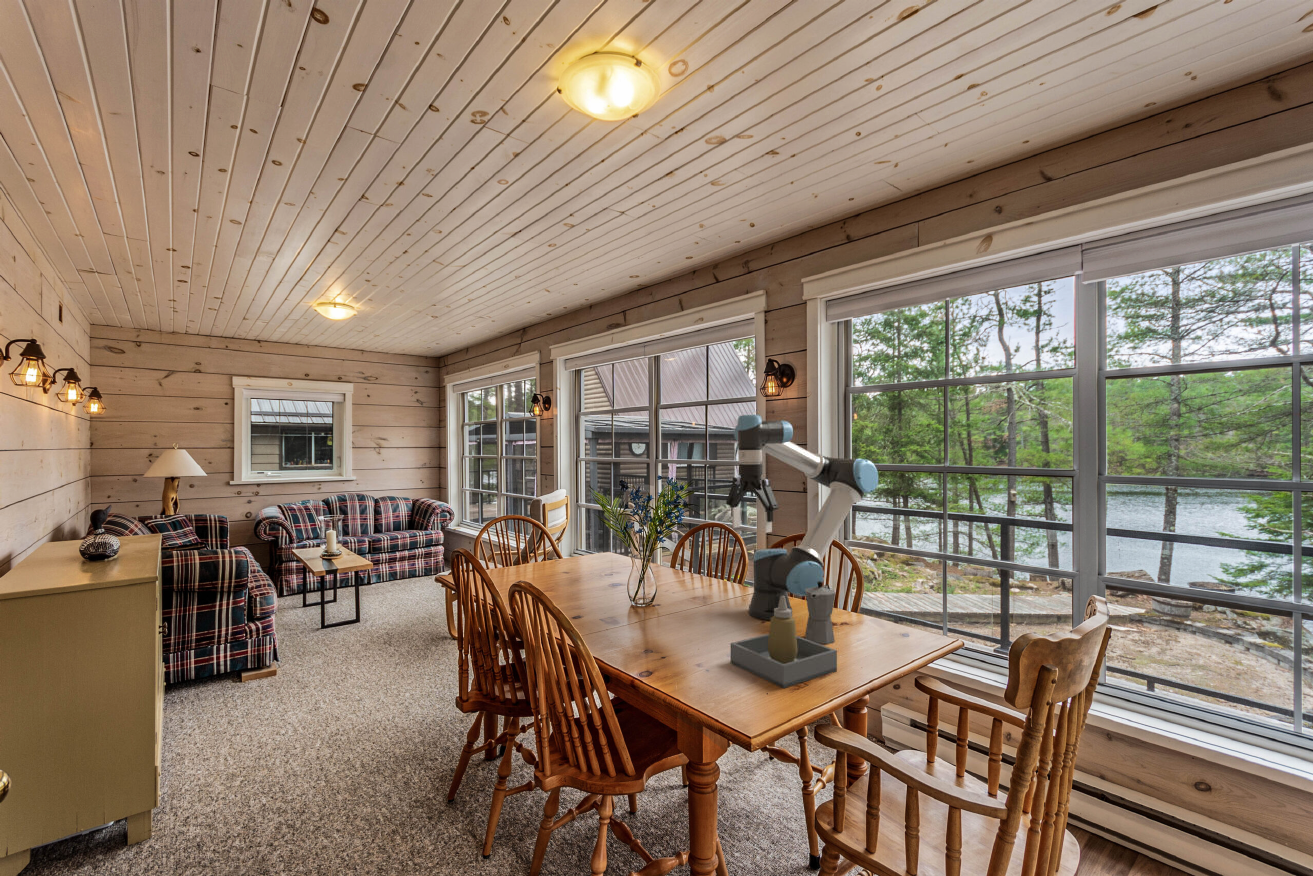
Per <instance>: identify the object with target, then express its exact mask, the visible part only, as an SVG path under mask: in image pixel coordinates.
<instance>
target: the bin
mask: <svg viewBox="0 0 1313 876" xmlns="http://www.w3.org/2000/svg"><path fill="white" fill-rule="evenodd" d="M796 638H797V648H798V652H797V655H796V658H795V661H793V662H789V663H786V664H782V663H780V662H777V661H775V660H773V659H771V658H770V654H769V651H768V640H769V633H766V634H762V635H758V636H755V637H750V638H747V639H742V640H738V641H734V642H730V664H731V663H732V665H733V664H734V665H733V666H735V667H738V668H739V669H742V670H744V671H746V670H747V671H746V672H748V671H749V673H750V672H751V674H752V673H753V675H754V674H755V676H757V677H759V678H761V679H763V680H765V681H767V682H769V683H771V682H772V684H773V683H774V685H775V684H776V686H777V687H780V688H782V689H787V688H789V686H790V687H793V686H795V685H799V684H802V683H804V682H808V681H811V680H813V679H817V678H820V677H823V676H826V674H827V675H829V673H830V674H832V672H833V673H836V672H837V671H838V650H837V649H834V648H831V647H829V646H826V645H824V644H818V643H815V642H812V641H810V640H807V639H806V638H803V637H801V636H798V635H796ZM822 675H823V676H822ZM819 676H820V677H819ZM786 687H787V688H786Z"/></svg>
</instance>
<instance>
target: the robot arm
mask: <svg viewBox="0 0 1313 876" xmlns="http://www.w3.org/2000/svg"><path fill="white" fill-rule="evenodd" d="M793 428H794V427H793V425H792V424H791V423H790V422H789V421H787V420H762V416H761V415H760V414H744V415H743V414H742V415H740V416H738V418H737V425H736V426H735V427H734V431H733V436H734V439H735V440H736V441H737V446H738V447H737V449H738V463H740V464H738V476H740V477H738V476H737V477H732V482H731V483H732V485H731V488H730V489H729V493H728V496H727V499H726V503H725V504H726V505H727V506H730V512H731V513H730V514H731V515H730V516H731V517H732V528H733V529H735V528H736V529H737V528H741V511H740V510H741V507H740V505H739V504H740V503H741V501H743V498H744V497H745V495H746V494H747V493H751V494H752V493H753V494H754V495H756V497H757V498H758V500H759V501H760V503H761V505H762V506H763V508H764V511H763V525H764V526H763V529H764V530H763V531H764V533H765V534H767V533H772V532H773V522H774V511H776V510H778V509H779V505H778V502H777V500H776V497H775V495H774V492H773V489H772V487H771V482H770V481H771V480H770V479H769V478H763V479H762V475H763V464H762V462H763V452H764V453H766V454H768V455H769V456H771V457H774V458H776V459H777V460H779V461H782V462H783V463H786V464H787V465H789V466H791V467H793V468H796V469H797V470H799V471H801V472H802V473H803V474H804V475H805V477H807V478H809V479H810V480H813V481H814V482H817V483H819V484H820V485H822V486H824V487H826V488H828V489H830V493H829V494H828V496H827V498H826V500H825V501H824V502H823V505H822V506H821V508H820V509H819V511H818V513H817V514H816V516H815V518H814V520H813V521H812V523H811V524H810V527H809V528H808V529H807V532H806V534H805V535H804V537H803V539H802V540H801V542H800V544H799V545H797V546H793V547H792V548H791V550H790V552H789V553H788V550H787V549H786V548H764V549H757V550H756V551H754V554H753V561H752V563H753V594H752V596H751V601H750V604H749V605H748V615H749V614H750V615H749V616H751V617H752V616H753V617H752V618H756V619H759V620H764V621H770V620H771V618H772V617H773V616H774V609H775V608H778V606H779V601H780V597H781V596H785V599H786V604H787V608H788V609H790V610H791V617H792V618H793V608H792V606H791V603H790V599H789V596H788V593H791V594H792V595H796V596H801V597H806V592H805V589H807V588H812V587H818V583H817V582H818V581H821V582H823V583H824V580H825V578H824V576H825V573H824V572H825V571H824V569H823V568H824V566H825V565H824V561H823V559H824V558H825V555H826V553H827V551H828V550H829V548H830V546H831V545H832V542H833V541H834V539H835V537H836V536H837V534H838V532H839V530H840V529H841V527H842V525H843V523H844V521H845V519H846V517H847V516H848V514H849V512H850V511H851V509H852V507H853V506H854V504H855V503H859V502H861V501H862V499H863V497H864V495H865V494H870V493H873V492H875V491H876V488H877V487H878V484H879V475H878V473H879V472H878V469H877V467H876V466H875V464H874V463H873V462H872V461H870V460H869V459H865V458H864V459H863V458H841V457H840V458H839V457H831V456H830V457H829V456H825V455H823V454H821V453H813V452H811V451H809V450H807V449H805V448H803V447H802V446H799V445H798V444H796V443H794V442H793V441H791V440H792V439H793V436H794V433H793V432H794V429H793Z"/></svg>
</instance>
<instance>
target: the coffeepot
mask: <svg viewBox="0 0 1313 876" xmlns="http://www.w3.org/2000/svg"><path fill="white" fill-rule="evenodd" d="M817 583H818V587H812V588H807V589H805V592H806V596H805V600H806V606H807V613H808V617H807V623H806V629H805V635H804V637H805V638H804V639H807V640H810V641H812V642H815V643H818V644H820V645H830V644H829V643H831V644H834V642H835V633H834V629H833V622H832V614H833V610H834V603H835V596H836V593H835V590H834V589H831V587H830V585H829V584H824V585H823V583H824V581H823V582H821V581H818V582H817Z"/></svg>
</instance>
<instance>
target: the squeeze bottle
mask: <svg viewBox="0 0 1313 876" xmlns="http://www.w3.org/2000/svg"><path fill="white" fill-rule="evenodd" d="M769 621H770V622H769V631H768V634H769V640H768V651H769V654H770V658H771V659H773V660H775V661H777V662H780V663H782V664H786V663H789V662H793V661H795V658H796V655H797V652H798V648H797V638H796V636H797V629H796V620H795V618H793V616H792V617H791V610H790V609H788V608H787V604H786V599H785V596H781V597H780V601H779V606H778V608H775V609H774V616H773V617H772V618H771V620H769Z"/></svg>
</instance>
